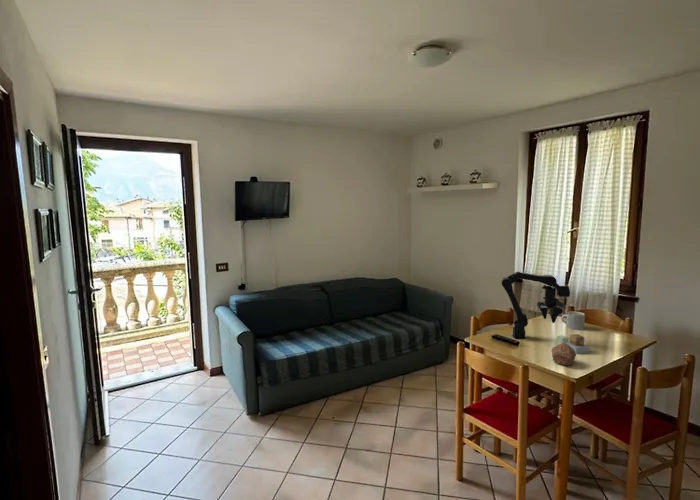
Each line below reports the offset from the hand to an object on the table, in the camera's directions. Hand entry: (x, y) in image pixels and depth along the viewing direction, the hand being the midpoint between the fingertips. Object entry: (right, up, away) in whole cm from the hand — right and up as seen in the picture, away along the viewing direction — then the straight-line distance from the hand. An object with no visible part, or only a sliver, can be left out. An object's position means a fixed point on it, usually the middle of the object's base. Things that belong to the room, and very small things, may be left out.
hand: (549, 320), depth 235 cm
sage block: (+5, -13, -5) cm, 14 cm away
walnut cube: (+7, -10, -18) cm, 21 cm away
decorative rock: (-11, -16, -34) cm, 39 cm away
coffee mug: (+29, -9, +25) cm, 40 cm away
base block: (+7, -14, -17) cm, 23 cm away
